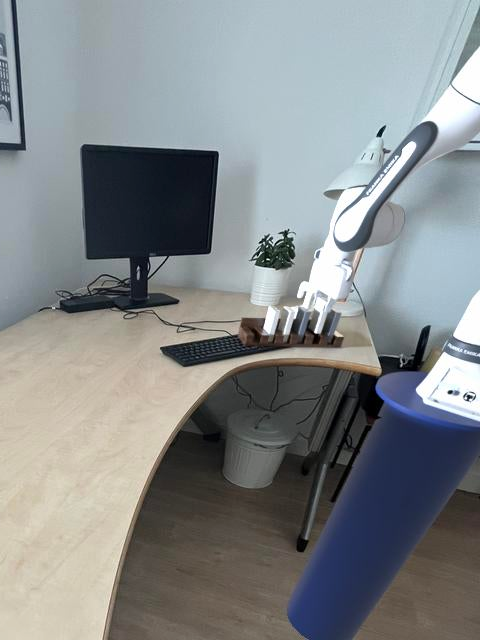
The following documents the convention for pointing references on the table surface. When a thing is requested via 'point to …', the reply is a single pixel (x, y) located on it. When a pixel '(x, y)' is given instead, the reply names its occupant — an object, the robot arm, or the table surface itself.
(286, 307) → the white book
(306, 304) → the figurine
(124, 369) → the table surface
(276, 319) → the white book
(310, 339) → the book rack
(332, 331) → the grey book
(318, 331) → the white book
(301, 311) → the grey book
